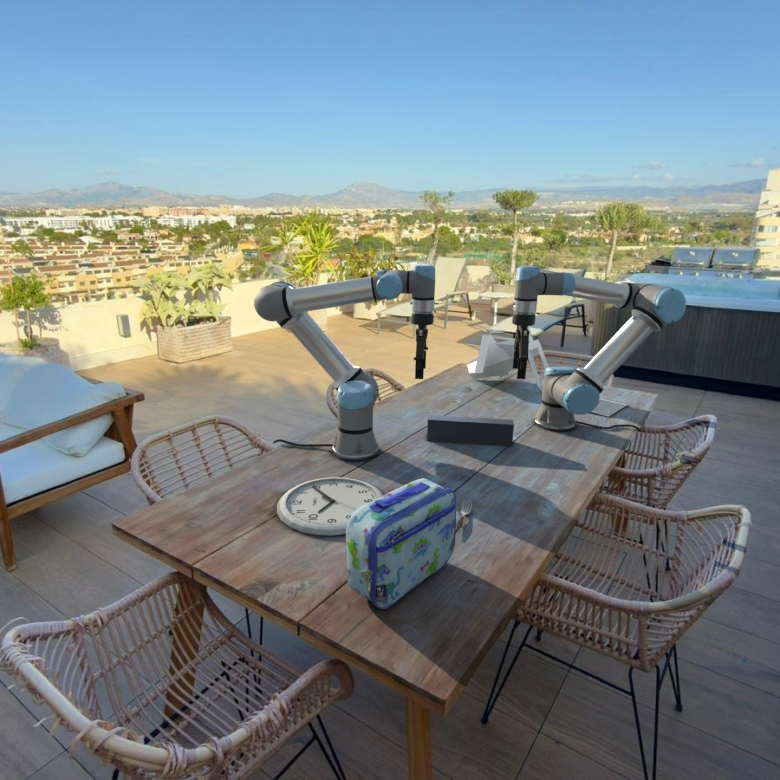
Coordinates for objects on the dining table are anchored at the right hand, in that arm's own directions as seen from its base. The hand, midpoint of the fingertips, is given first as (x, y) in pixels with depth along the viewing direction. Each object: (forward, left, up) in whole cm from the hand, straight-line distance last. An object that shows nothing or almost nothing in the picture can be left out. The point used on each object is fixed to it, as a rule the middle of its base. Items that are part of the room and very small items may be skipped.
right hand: (518, 373), depth 183 cm
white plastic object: (-4, -68, -25) cm, 72 cm away
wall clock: (+54, +56, -25) cm, 82 cm away
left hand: (+34, +6, 0) cm, 35 cm away
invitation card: (-42, -43, -25) cm, 65 cm away
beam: (+16, +4, -25) cm, 30 cm away
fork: (+19, +59, -25) cm, 67 cm away
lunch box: (+32, +85, -25) cm, 94 cm away
